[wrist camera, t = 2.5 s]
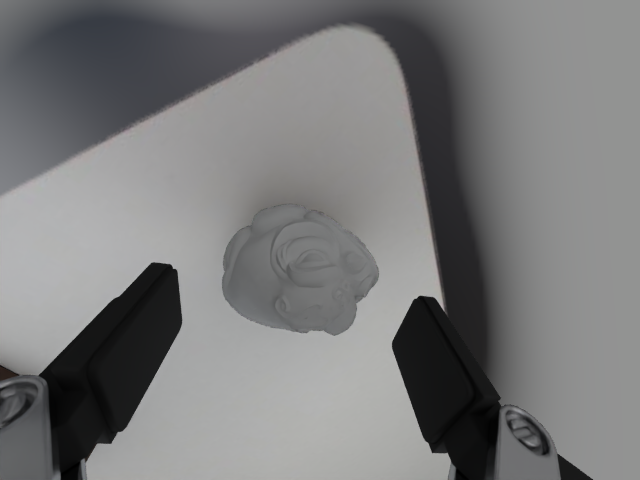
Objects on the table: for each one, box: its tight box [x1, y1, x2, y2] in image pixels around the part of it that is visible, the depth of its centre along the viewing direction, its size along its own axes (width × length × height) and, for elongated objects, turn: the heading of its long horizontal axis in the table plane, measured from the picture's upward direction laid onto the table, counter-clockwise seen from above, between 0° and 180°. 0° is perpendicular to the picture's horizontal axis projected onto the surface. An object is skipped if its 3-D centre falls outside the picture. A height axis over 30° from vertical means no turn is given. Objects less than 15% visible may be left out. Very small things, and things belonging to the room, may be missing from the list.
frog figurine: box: [222, 204, 379, 336], centre depth 12 cm, size 6×7×7 cm
